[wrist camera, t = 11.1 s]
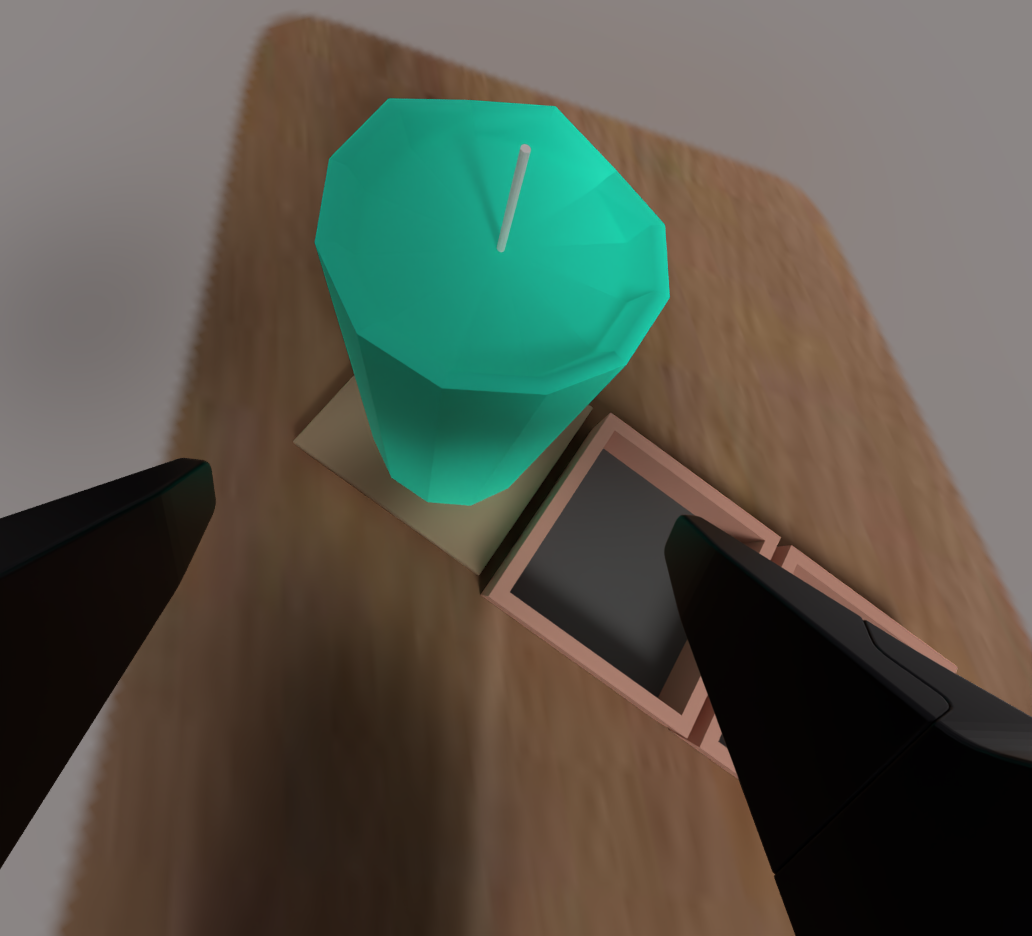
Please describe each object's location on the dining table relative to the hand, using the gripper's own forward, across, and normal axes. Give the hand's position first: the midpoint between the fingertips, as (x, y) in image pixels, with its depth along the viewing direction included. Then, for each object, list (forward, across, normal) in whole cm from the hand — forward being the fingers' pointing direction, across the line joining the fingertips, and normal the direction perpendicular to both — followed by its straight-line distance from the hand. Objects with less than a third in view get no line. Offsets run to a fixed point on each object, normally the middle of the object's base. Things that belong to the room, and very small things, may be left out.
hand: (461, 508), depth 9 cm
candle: (+9, 0, +3) cm, 9 cm away
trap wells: (+4, -11, +8) cm, 14 cm away
